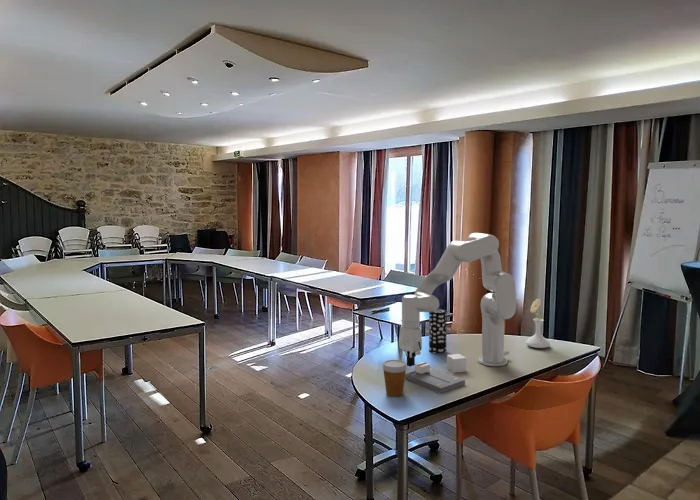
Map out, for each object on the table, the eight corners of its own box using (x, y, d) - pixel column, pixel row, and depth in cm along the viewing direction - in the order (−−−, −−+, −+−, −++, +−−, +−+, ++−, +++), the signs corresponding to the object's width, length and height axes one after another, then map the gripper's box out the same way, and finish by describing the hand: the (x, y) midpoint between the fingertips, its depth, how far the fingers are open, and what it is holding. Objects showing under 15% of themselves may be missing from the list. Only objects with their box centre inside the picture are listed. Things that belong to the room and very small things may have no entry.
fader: (422, 368, 214) (422, 361, 214) (429, 371, 211) (429, 363, 211) (414, 371, 211) (414, 363, 211) (421, 373, 208) (421, 365, 208)
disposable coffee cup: (380, 389, 198) (380, 359, 197) (404, 388, 199) (404, 358, 198) (384, 399, 189) (384, 368, 187) (409, 397, 190) (409, 367, 188)
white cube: (465, 371, 218) (466, 357, 217) (453, 372, 216) (453, 359, 215) (458, 366, 223) (459, 353, 223) (446, 368, 222) (446, 355, 221)
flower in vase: (525, 342, 258) (527, 294, 256) (549, 344, 254) (551, 295, 252) (525, 349, 246) (526, 299, 243) (550, 352, 242) (552, 301, 239)
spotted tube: (448, 350, 247) (449, 310, 245) (442, 354, 240) (442, 313, 238) (433, 347, 251) (433, 308, 249) (426, 352, 244) (426, 311, 242)
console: (428, 371, 218) (428, 366, 218) (464, 384, 202) (464, 379, 202) (404, 378, 209) (404, 373, 209) (440, 393, 194) (440, 387, 193)
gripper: (392, 321, 218) (392, 362, 220) (416, 328, 206) (416, 372, 208) (405, 319, 223) (405, 359, 225) (429, 325, 211) (429, 368, 213)
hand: (410, 365), depth 216 cm, fingers closed
